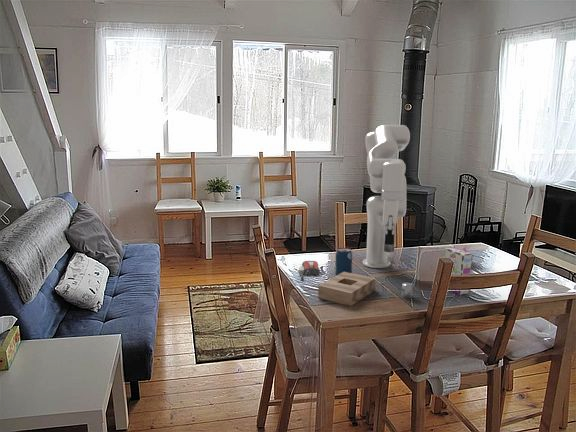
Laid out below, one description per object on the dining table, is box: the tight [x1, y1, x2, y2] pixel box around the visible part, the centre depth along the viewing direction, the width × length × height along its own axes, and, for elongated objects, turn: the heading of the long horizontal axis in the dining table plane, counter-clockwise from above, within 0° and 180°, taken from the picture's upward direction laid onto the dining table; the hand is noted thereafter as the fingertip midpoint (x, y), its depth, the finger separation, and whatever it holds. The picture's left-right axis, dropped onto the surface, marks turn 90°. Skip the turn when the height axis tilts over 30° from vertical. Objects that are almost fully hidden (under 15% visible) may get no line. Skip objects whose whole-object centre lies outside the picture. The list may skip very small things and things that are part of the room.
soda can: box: [334, 247, 353, 276], centre depth 223 cm, size 7×7×12 cm
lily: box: [462, 244, 472, 252], centre depth 243 cm, size 12×12×10 cm
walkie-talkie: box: [298, 260, 320, 280], centre depth 229 cm, size 9×4×20 cm
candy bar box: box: [443, 246, 474, 296], centre depth 208 cm, size 11×5×16 cm, turn 22°
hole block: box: [317, 272, 376, 307], centre depth 204 cm, size 20×14×5 cm
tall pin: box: [384, 224, 397, 253], centre depth 199 cm, size 4×4×11 cm
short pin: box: [401, 282, 414, 300], centre depth 202 cm, size 4×4×5 cm
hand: (389, 242), depth 200 cm, fingers closed on tall pin, 4 cm apart
